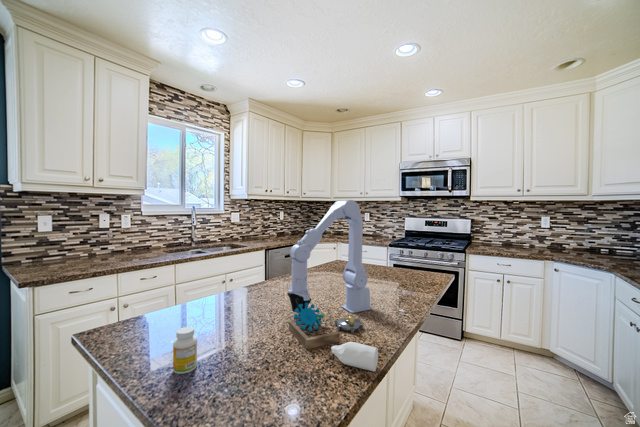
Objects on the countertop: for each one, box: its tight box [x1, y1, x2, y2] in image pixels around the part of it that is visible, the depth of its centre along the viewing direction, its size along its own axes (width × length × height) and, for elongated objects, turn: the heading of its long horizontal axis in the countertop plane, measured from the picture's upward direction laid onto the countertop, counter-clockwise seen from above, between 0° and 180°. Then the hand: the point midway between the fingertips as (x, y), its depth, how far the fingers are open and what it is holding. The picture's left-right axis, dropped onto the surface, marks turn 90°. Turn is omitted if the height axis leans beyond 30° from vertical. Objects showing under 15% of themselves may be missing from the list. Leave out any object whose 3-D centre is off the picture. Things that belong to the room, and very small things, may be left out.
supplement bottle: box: [172, 326, 198, 375], centre depth 70 cm, size 5×5×10 cm
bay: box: [288, 320, 341, 350], centre depth 89 cm, size 11×14×3 cm
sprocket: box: [334, 315, 365, 334], centre depth 95 cm, size 10×9×4 cm
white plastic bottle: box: [330, 341, 379, 372], centre depth 73 cm, size 6×12×6 cm, turn 67°
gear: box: [293, 302, 325, 333], centre depth 96 cm, size 11×6×10 cm
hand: (298, 314), depth 102 cm, fingers open, 6 cm apart
